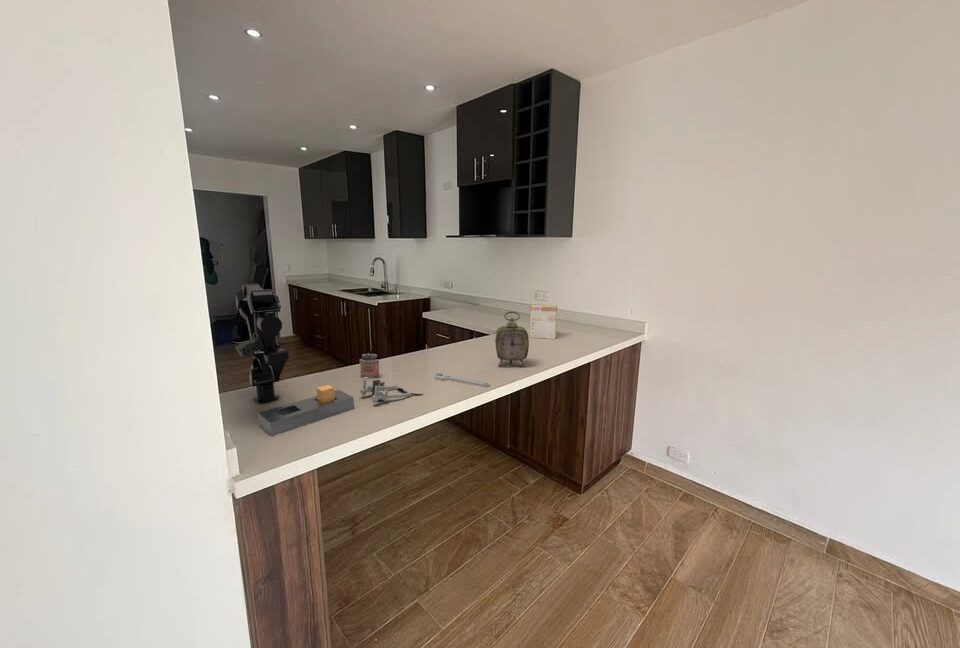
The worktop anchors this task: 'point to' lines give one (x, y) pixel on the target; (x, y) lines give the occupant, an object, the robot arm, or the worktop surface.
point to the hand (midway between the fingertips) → (270, 376)
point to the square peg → (325, 394)
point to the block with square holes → (303, 412)
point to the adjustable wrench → (460, 380)
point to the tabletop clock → (512, 342)
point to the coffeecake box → (543, 321)
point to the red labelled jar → (369, 366)
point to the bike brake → (382, 391)
